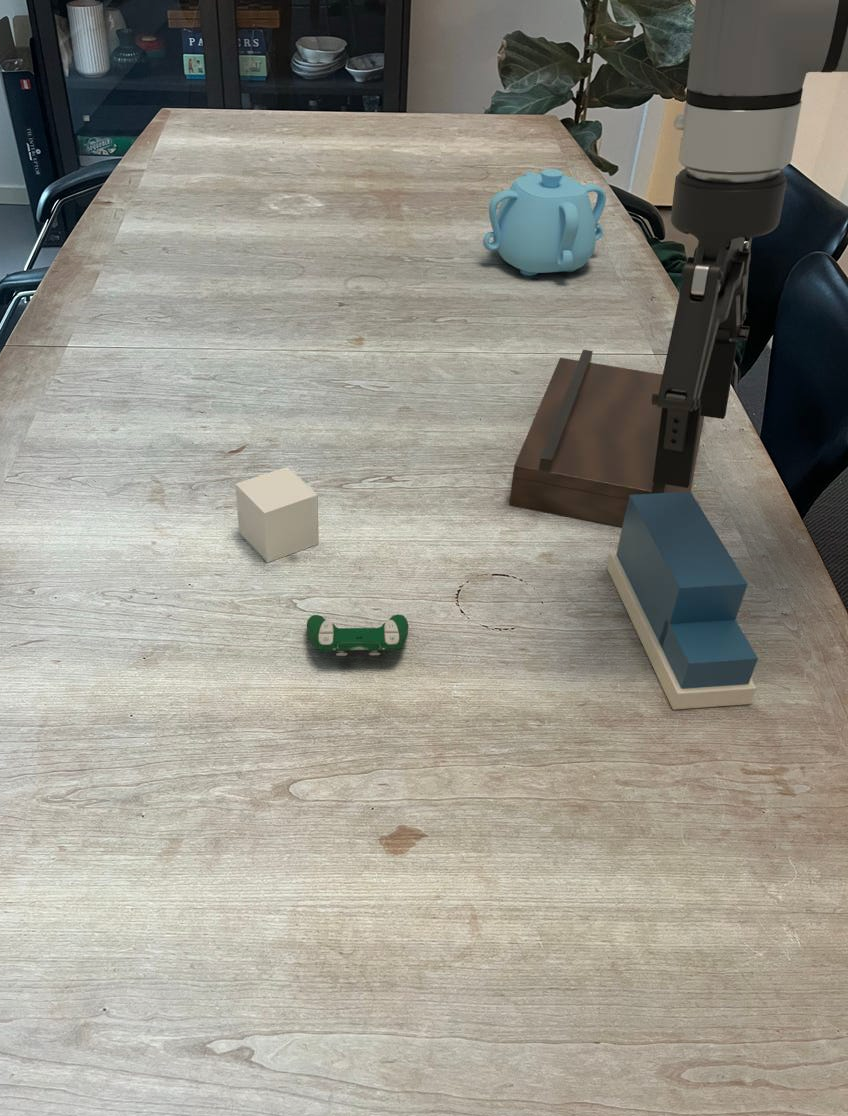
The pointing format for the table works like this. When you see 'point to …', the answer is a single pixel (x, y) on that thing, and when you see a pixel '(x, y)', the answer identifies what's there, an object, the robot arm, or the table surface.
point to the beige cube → (277, 514)
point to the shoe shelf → (592, 443)
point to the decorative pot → (545, 223)
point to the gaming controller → (357, 636)
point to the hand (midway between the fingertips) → (690, 447)
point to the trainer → (684, 601)
